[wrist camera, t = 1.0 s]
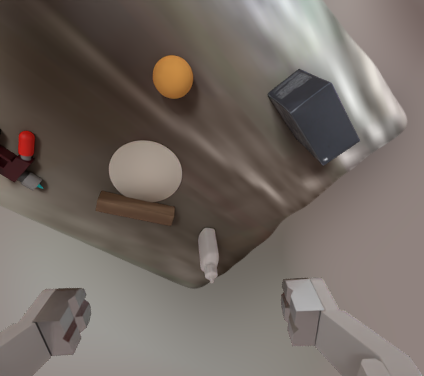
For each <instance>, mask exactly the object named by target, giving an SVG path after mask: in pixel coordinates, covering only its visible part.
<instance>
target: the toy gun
mask: <svg viewBox="0 0 424 376" xmlns="http://www.w3.org/2000/svg"><path fill="white" fill-rule="evenodd" d="M0 134H1V129H0ZM34 144H35V136H34V134H33V133H31V132H29V131H22V132H21V133H20V134H19V145H18V153H19V155H18V156H17V155H15V154H14V153H12V152H11V151H9V150H8V149H6V148H4V147H3V146H1V145H0V174H1V175H3V176H5V177H6V178H8V179H10V180H11V181H13V182H15V181H16V180H18V181H20V182H21V184H22V185H24V186H26V187H27V188H29V189H31V190H34V189H35V188H36V187H39V188H42V189H43V187H42V186H41V185H40V184H39V183H40V182H41V181H42V180H43V179H41V178H40V177H38V176H36V175H35V174H33V173H32V172H31V173H29V172H28V171H26V169H27V168H28V167H29V166H30V164H31V163H32V162H33V161H34V160H35V158H33V157H31V156H32V155H33V154H34ZM1 157H2V158H1Z"/></svg>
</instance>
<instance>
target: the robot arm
mask: <svg viewBox="0 0 424 376" xmlns="http://www.w3.org/2000/svg"><path fill="white" fill-rule="evenodd" d="M282 288H283V291H284V293H283V294H282V295H281V305H282V311H283V316H284V319H285V320H286V321H287V322H288V332H289V336H290V339H291V343H292V346H315V347H316V348H317V349H318V350H319V351H320V353H321V354H322V355H323V356H324V357H325V358H326V359H327V360H328V361H329V362H330V363H331V364H332V365H333V366H334V368H335V369H336V370H337V371H338V372H339V373H340V374H341V375H342V376H423V375H422V374H421V373H420V371H419V370H418V368H417V367H416V365H415V364H414V363H413V362H412V360H411V358H410V357H409V356H408V355H407V354H405V353H404V352H402V351H401V350H399V349H398V348H397V347H395V346H394V345H393V344H391V343H390V342H388V341H387V340H386V339H384V338H383V337H381V336H380V335H378V334H377V333H376V332H374V331H373V330H371V329H370V328H369V327H367V326H366V325H364V324H363V323H361V322H360V321H359V320H357V319H356V318H354V317H353V316H352V315H350V314H349V313H347V312H346V311H345V310H340V309H339V307H338V306H337V304H336V302H335V300H334V298H333V297H332V295H331V293H330V291H329V289H328V287H327V285H326V283H325V282H324V280H323V279H322V278H321V277H314V278H296V279H283V282H282ZM85 297H86V293H85V290H84V289H82V288H63V289H60V288H59V289H45V290H43V291H42V292H41V293H40V295H39V296H38V297H37V298H36V300H35V301H34V302H33V304H32V305H31V306H30V307H29V309H28V310H27V311H26V313H25V314H24V315H23V317H22V318H21V319H20V321H19V322H18V323H17V324H12V325H10V326H9V327H7V328H6V329H5V330H3V331H1V332H0V376H33V375H34V374H35V373H36V372H37V371H38V370H39V369H40V368H41V367H42V366H43V365H44V364H45V363H46V362H47V361H48V360H49V359H50V358H51V356H59V355H73V354H74V352H75V350H76V348H77V346H78V344H79V342H80V340H81V335H80V333H81V332H82V331H83V330H84V329H85V328H87V325H88V323H89V321H90V316H91V307H90V304H89V302H87V301H86V300H85Z"/></svg>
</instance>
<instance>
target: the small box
mask: <svg viewBox="0 0 424 376" xmlns="http://www.w3.org/2000/svg"><path fill="white" fill-rule="evenodd" d="M268 96H269V98H270V99H271V101H272V103H273V104H274V106H275V107H276V109H277V110H278V112H279V113H280V115H281V116H282V118H283V120H284V121H285V123H286V124H287V126H288V127H289V129H290V130H291V132H292V133H293V135H294V136H295V138H296V139H297V140H298V141H299V142H300V143H301V144H302V145H303V146H304V147H305V148H306V149H307V150H308V151H309V152H310V153H311V154H312V155H313V156H314V157H315V158H316V159H317V160H318V161H319V162H320V163H321V164H322V165H325V164H327V163H328V162H330V161H331V160H333V159H334V158H336V157H337V156H339V155H340V154H342V153H343V152H345V151H346V150H348V149H349V148H351V147H352V146H354V145H355V144H356V143H358V142H359V141H360V139H359V137H358V135H357V133H356V131H355V129H354V127H353V125H352V123H351V121H350V119H349V117H348V115H347V113H346V111H345V109H344V107H343V105H342V103H341V101H340V99H339V97H338V95H337V93H336V91H335V89H334V87H333V84H332V83H331V82H328V81H326V80H324V79H321V78H319V77H317V76H314V75H312V74H310V73H307V72H305V71H303V70H301V69H298V70H297V71H296V72H294V73H293V74H292V75H291V76H289V77H288V78H287V79H285V80H284V81H283V82H282V83H280V84H279V85H278V86H277V87H275V88H274V89H273V90H272V91H270V92H269V93H268Z"/></svg>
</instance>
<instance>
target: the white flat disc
mask: <svg viewBox="0 0 424 376" xmlns="http://www.w3.org/2000/svg"><path fill="white" fill-rule="evenodd" d="M109 175H110V179H111V181H112V183H113V185H114V186H115V188H116V189H117V190H118V191H119V192H120V193H121V194H123V195H124V196H126V197H129V198H134V199H138V200H143V201H147V202H158V201H161V200H164V199H166V198H168V197H170V196H171V195H172V194H173V193H174V192H175V191H176V190H177V189H178V187H179V185H180V183H181V180H182V168H181V164H180V162H179V160H178V158H177V157H176V155H175V154H174V153H173V152H172V151H171V150H170V149H168V148H167V147H165V146H163V145H161V144H159V143H156V142H153V141H146V140H139V141H133V142H130V143H127V144H125V145H123V146H121V147H120V148H119V149H118V150H117V151H116V152H115V153H114V154H113V156H112V158H111V160H110V163H109Z"/></svg>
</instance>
